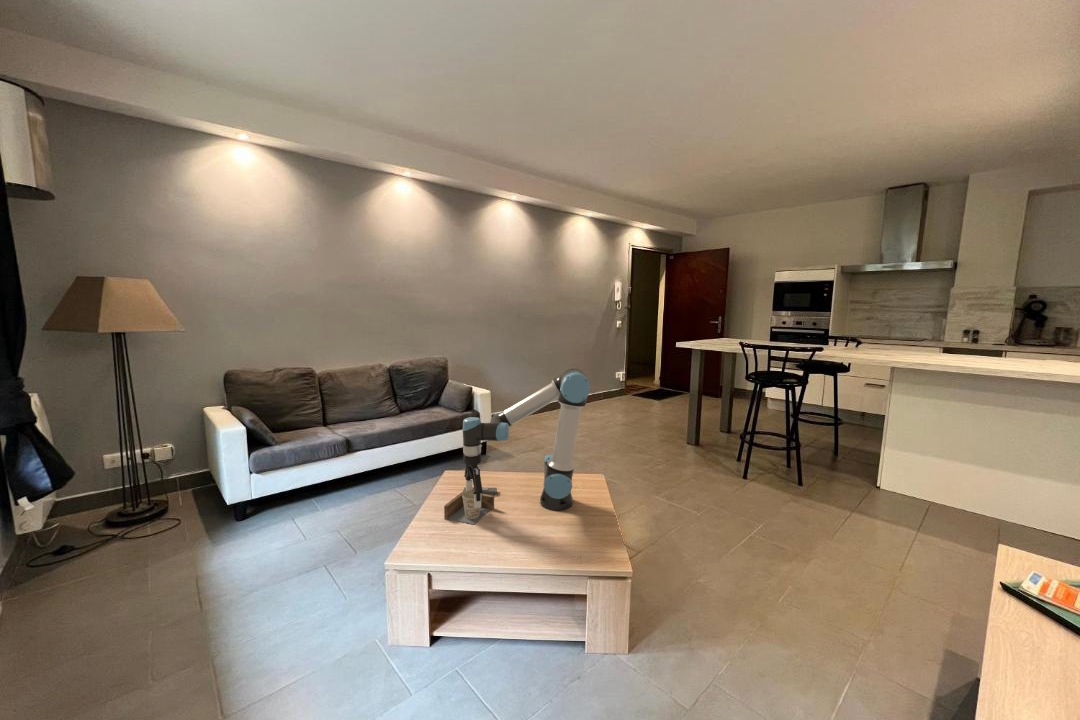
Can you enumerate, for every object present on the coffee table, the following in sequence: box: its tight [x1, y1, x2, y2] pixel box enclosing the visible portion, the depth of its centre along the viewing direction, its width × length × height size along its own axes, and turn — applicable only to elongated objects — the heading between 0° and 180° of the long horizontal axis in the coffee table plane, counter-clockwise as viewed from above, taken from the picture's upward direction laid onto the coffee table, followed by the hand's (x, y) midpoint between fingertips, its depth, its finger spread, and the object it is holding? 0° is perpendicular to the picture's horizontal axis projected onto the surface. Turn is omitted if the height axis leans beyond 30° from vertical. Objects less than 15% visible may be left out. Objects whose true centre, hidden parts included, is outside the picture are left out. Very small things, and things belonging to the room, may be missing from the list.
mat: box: [448, 506, 491, 526], centre depth 186 cm, size 13×14×1 cm
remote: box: [462, 486, 498, 496], centre depth 207 cm, size 16×4×2 cm, turn 89°
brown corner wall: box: [443, 490, 495, 521], centre depth 187 cm, size 16×16×6 cm
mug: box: [462, 490, 482, 519], centre depth 186 cm, size 8×13×10 cm, turn 170°
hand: (473, 500), depth 184 cm, fingers open, 13 cm apart
